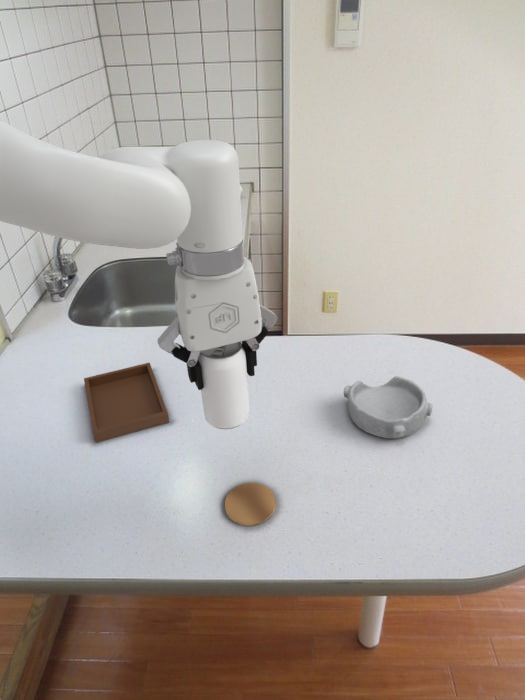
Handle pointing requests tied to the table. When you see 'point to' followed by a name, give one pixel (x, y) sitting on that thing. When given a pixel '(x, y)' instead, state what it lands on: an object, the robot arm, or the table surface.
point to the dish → (388, 407)
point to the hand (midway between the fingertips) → (223, 376)
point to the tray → (124, 402)
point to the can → (225, 386)
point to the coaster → (250, 504)
